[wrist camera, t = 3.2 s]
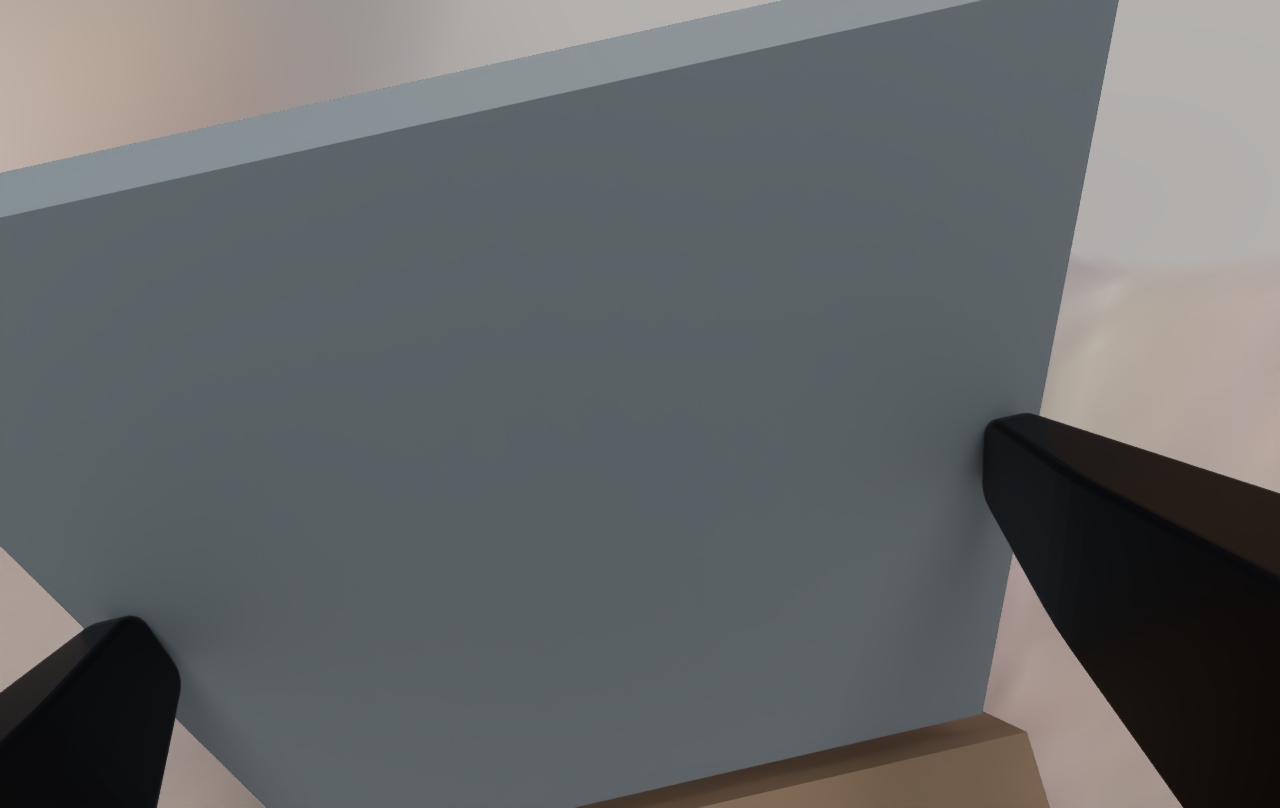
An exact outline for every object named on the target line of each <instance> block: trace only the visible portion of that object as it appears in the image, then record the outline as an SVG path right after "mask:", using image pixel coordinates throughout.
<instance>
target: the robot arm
mask: <svg viewBox="0 0 1280 808" xmlns="http://www.w3.org/2000/svg"><path fill="white" fill-rule="evenodd" d="M982 488H983V494H984V498H985V500H986V503H987V505H988V507H989V509H990V511H991V513H992V515H993V517H994V518H995V520H996V522H997V524H998V526H999V527H1000V529H1001V531H1002V533H1003V535H1004V536H1005V538H1006V540H1007V542H1008V544H1009V545H1010V547H1011V549H1012V551H1013V553H1014V554H1015V556H1016V558H1017V560H1018V562H1019V563H1020V565H1021V567H1022V569H1023V571H1024V572H1025V574H1026V576H1027V578H1028V580H1029V581H1030V583H1031V585H1032V587H1033V589H1034V590H1035V592H1036V594H1037V596H1038V598H1039V599H1040V601H1041V603H1042V605H1043V607H1044V608H1045V610H1046V612H1047V613H1048V615H1049V617H1050V618H1051V620H1052V622H1053V624H1054V625H1055V627H1056V628H1057V630H1058V631H1059V633H1060V634H1061V636H1062V637H1063V639H1064V640H1065V642H1066V643H1067V645H1068V646H1069V648H1070V649H1071V650H1072V652H1073V653H1074V655H1075V656H1076V657H1077V659H1078V660H1079V662H1080V663H1081V664H1082V666H1083V667H1084V669H1085V670H1086V672H1087V673H1088V674H1089V676H1090V677H1091V679H1092V680H1093V681H1094V683H1095V684H1096V686H1097V687H1098V688H1099V690H1100V691H1101V693H1102V694H1103V695H1104V697H1105V698H1106V700H1107V701H1108V702H1109V704H1110V705H1111V707H1112V708H1113V710H1114V711H1115V712H1116V714H1117V715H1118V717H1119V718H1120V719H1121V721H1122V722H1123V724H1124V725H1125V726H1126V728H1127V729H1128V731H1129V732H1130V733H1131V735H1132V736H1133V738H1134V739H1135V740H1136V742H1137V743H1138V745H1139V746H1140V747H1141V749H1142V750H1143V752H1144V753H1145V755H1146V756H1147V757H1148V759H1149V760H1150V762H1151V763H1152V764H1153V766H1154V767H1155V769H1156V770H1157V771H1158V773H1159V774H1160V776H1161V777H1162V778H1163V780H1164V781H1165V783H1166V784H1167V785H1168V787H1169V788H1170V790H1171V791H1172V793H1173V794H1174V795H1175V797H1176V798H1177V800H1178V801H1179V802H1180V804H1181V805H1182V807H1183V808H1280V493H1277V492H1274V491H1271V490H1268V489H1265V488H1261V487H1258V486H1255V485H1252V484H1249V483H1246V482H1243V481H1240V480H1237V479H1234V478H1230V477H1227V476H1224V475H1221V474H1218V473H1215V472H1212V471H1209V470H1206V469H1203V468H1199V467H1196V466H1193V465H1190V464H1187V463H1184V462H1181V461H1178V460H1175V459H1172V458H1168V457H1165V456H1162V455H1159V454H1156V453H1153V452H1150V451H1147V450H1144V449H1141V448H1137V447H1134V446H1131V445H1128V444H1125V443H1122V442H1119V441H1116V440H1113V439H1110V438H1107V437H1103V436H1100V435H1097V434H1094V433H1091V432H1088V431H1085V430H1082V429H1079V428H1076V427H1072V426H1069V425H1066V424H1063V423H1060V422H1057V421H1054V420H1051V419H1048V418H1045V417H1041V416H1038V415H1035V414H1032V413H1020V414H1015V415H1011V416H1006V417H1002V418H998V419H994V420H991V421H990V422H989V423H988V424H987V426H986V428H985V432H984V445H983V471H982ZM180 692H181V678H180V673H179V671H178V668H177V666H176V664H175V663H174V661H173V660H172V658H171V657H170V656H169V654H168V653H167V651H166V650H165V649H164V647H163V646H162V644H161V643H160V641H159V640H158V639H157V637H156V636H155V634H154V633H153V632H152V630H151V629H150V627H149V626H148V624H147V623H146V622H145V621H144V620H142V619H141V618H139V617H137V616H131V615H128V616H123V617H119V618H114V619H110V620H105V621H101V622H97V623H94V624H92V625H90V626H88V627H87V628H85V629H84V630H83V631H81V632H80V633H79V634H77V635H76V636H75V637H73V638H72V639H71V640H69V641H68V642H67V643H65V644H64V645H63V646H61V647H60V648H59V649H58V650H56V651H55V652H54V653H52V654H51V655H50V656H48V657H47V658H46V659H44V660H43V661H42V662H40V663H39V664H38V665H36V666H35V667H34V668H32V669H31V670H30V671H28V672H27V673H26V674H24V675H23V676H22V677H20V678H19V679H18V680H16V681H15V682H14V683H12V684H11V685H10V686H9V687H7V688H6V689H5V690H3V691H2V692H1V693H0V808H157V804H158V799H159V794H160V789H161V785H162V780H163V775H164V770H165V765H166V760H167V756H168V751H169V746H170V741H171V736H172V731H173V727H174V722H175V717H176V712H177V707H178V702H179V698H180Z"/></svg>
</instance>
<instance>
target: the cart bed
mask: <svg viewBox="0 0 1280 808" xmlns="http://www.w3.org/2000/svg"><path fill="white" fill-rule="evenodd" d="M575 808H1050V807H1049V804H1048V801H1047V797H1046V794H1045V791H1044V788H1043V784H1042V781H1041V778H1040V774H1039V771H1038V768H1037V765H1036V761H1035V758H1034V755H1033V751H1032V748H1031V745H1030V742H1029V738H1028V735H1027V732H1025V731H1023V730H1021V729H1019V728H1017V727H1015V726H1013V725H1011V724H1008V723H1006V722H1004V721H1002V720H1000V719H998V718H996V717H994V716H992V715H989V714H987V713H985V712H983V711H982V714H979V715H975V716H970V717H966V718H962V719H957V720H953V721H949V722H944V723H940V724H936V725H931V726H927V727H923V728H918V729H914V730H910V731H905V732H901V733H897V734H892V735H888V736H884V737H879V738H875V739H870V740H866V741H862V742H857V743H853V744H849V745H844V746H840V747H836V748H831V749H827V750H823V751H818V752H814V753H810V754H805V755H801V756H797V757H792V758H788V759H784V760H779V761H775V762H771V763H766V764H762V765H757V766H753V767H749V768H744V769H740V770H736V771H731V772H727V773H723V774H718V775H714V776H710V777H705V778H701V779H697V780H692V781H688V782H684V783H679V784H675V785H671V786H666V787H662V788H658V789H653V790H649V791H644V792H640V793H636V794H631V795H627V796H623V797H618V798H614V799H610V800H605V801H601V802H597V803H592V804H588V805H584V806H579V807H575Z"/></svg>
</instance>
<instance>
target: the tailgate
mask: <svg viewBox="0 0 1280 808" xmlns="http://www.w3.org/2000/svg"><path fill="white" fill-rule="evenodd" d="M1118 1H1119V0H782V1H777V2H773V3H768V4H764V5H759V6H754V7H750V8H746V9H741V10H736V11H732V12H727V13H723V14H719V15H714V16H709V17H705V18H701V19H696V20H691V21H687V22H682V23H677V24H673V25H668V26H664V27H659V28H655V29H650V30H646V31H642V32H637V33H632V34H628V35H623V36H619V37H614V38H610V39H605V40H601V41H596V42H591V43H587V44H583V45H578V46H573V47H569V48H565V49H560V50H555V51H551V52H546V53H542V54H537V55H533V56H528V57H524V58H519V59H514V60H510V61H506V62H501V63H497V64H492V65H487V66H483V67H478V68H474V69H469V70H465V71H460V72H456V73H452V74H447V75H442V76H437V77H433V78H428V79H424V80H419V81H415V82H411V83H406V84H402V85H397V86H392V87H388V88H383V89H379V90H374V91H370V92H365V93H360V94H356V95H351V96H347V97H342V98H338V99H333V100H329V101H325V102H320V103H315V104H311V105H306V106H302V107H297V108H292V109H288V110H283V111H279V112H274V113H270V114H265V115H261V116H257V117H252V118H247V119H243V120H238V121H234V122H229V123H225V124H220V125H215V126H211V127H207V128H202V129H197V130H193V131H189V132H184V133H179V134H175V135H170V136H166V137H161V138H157V139H152V140H148V141H143V142H139V143H134V144H129V145H125V146H121V147H116V148H111V149H107V150H102V151H98V152H93V153H89V154H84V155H80V156H75V157H71V158H66V159H62V160H57V161H52V162H48V163H43V164H39V165H35V166H30V167H25V168H21V169H16V170H12V171H7V172H3V173H0V546H1V547H2V548H3V549H4V550H5V551H6V552H7V553H8V554H9V555H10V556H11V557H12V558H13V559H14V560H15V561H16V562H17V563H18V564H19V565H20V566H21V567H22V568H23V569H24V570H25V571H26V572H27V573H28V574H29V575H30V576H31V577H33V578H34V579H35V580H36V581H37V582H38V583H39V584H40V585H41V586H42V587H43V588H44V589H45V590H46V591H47V592H48V593H49V594H50V595H51V596H52V597H53V598H54V599H55V600H56V601H57V602H58V603H59V604H60V605H61V606H62V607H63V608H64V609H65V610H66V611H67V612H68V613H69V614H70V615H71V616H72V617H73V618H74V619H75V620H76V621H77V622H78V623H79V624H80V625H81V626H82V627H83V628H84V629H85V628H87V627H88V626H90V625H92V624H94V623H97V622H101V621H105V620H110V619H114V618H119V617H123V616H128V615H131V616H137V617H139V618H141V619H142V620H144V621H145V622H146V623H147V624H148V626H149V627H150V629H151V630H152V632H153V633H154V634H155V636H156V637H157V639H158V640H159V641H160V643H161V644H162V646H163V647H164V649H165V650H166V651H167V653H168V654H169V656H170V657H171V658H172V660H173V661H174V663H175V664H176V666H177V668H178V671H179V673H180V678H181V692H180V698H179V702H178V707H177V712H176V717H175V718H176V719H177V720H178V721H179V722H180V723H181V724H182V725H183V726H184V727H185V728H186V729H187V730H188V731H189V732H190V733H191V734H192V735H193V736H194V737H195V738H196V739H197V740H198V741H199V742H200V743H201V744H202V745H203V746H204V747H205V748H206V749H207V750H208V751H210V752H211V753H212V754H213V755H214V756H215V757H216V758H217V759H218V760H219V761H220V762H221V763H222V764H223V765H224V766H225V767H226V768H227V769H228V770H229V771H230V772H231V773H232V774H233V775H234V776H235V777H236V778H237V779H238V780H239V781H240V782H241V783H242V784H243V785H244V786H245V787H246V788H247V789H248V790H249V791H250V792H251V793H252V794H253V795H254V796H255V797H256V798H257V799H258V800H259V801H260V802H261V803H262V804H263V805H264V806H265V807H266V808H575V807H579V806H584V805H588V804H592V803H597V802H601V801H605V800H610V799H614V798H618V797H623V796H627V795H631V794H636V793H640V792H644V791H649V790H653V789H658V788H662V787H666V786H671V785H675V784H679V783H684V782H688V781H692V780H697V779H701V778H705V777H710V776H714V775H718V774H723V773H727V772H731V771H736V770H740V769H744V768H749V767H753V766H757V765H762V764H766V763H771V762H775V761H779V760H784V759H788V758H792V757H797V756H801V755H805V754H810V753H814V752H818V751H823V750H827V749H831V748H836V747H840V746H844V745H849V744H853V743H857V742H862V741H866V740H870V739H875V738H879V737H884V736H888V735H892V734H897V733H901V732H905V731H910V730H914V729H918V728H923V727H927V726H931V725H936V724H940V723H944V722H949V721H953V720H957V719H962V718H966V717H970V716H975V715H979V714H982V711H983V705H984V700H985V695H986V690H987V685H988V679H989V674H990V669H991V664H992V658H993V653H994V648H995V643H996V638H997V632H998V627H999V622H1000V617H1001V612H1002V606H1003V601H1004V596H1005V591H1006V585H1007V580H1008V575H1009V570H1010V565H1011V559H1012V554H1013V551H1012V549H1011V547H1010V545H1009V544H1008V542H1007V540H1006V538H1005V536H1004V535H1003V533H1002V531H1001V529H1000V527H999V526H998V524H997V522H996V520H995V518H994V517H993V515H992V513H991V511H990V509H989V507H988V505H987V503H986V500H985V498H984V494H983V488H982V471H983V445H984V432H985V428H986V426H987V424H988V423H989V422H990V421H991V420H994V419H998V418H1002V417H1006V416H1011V415H1015V414H1020V413H1032V414H1035V415H1038V416H1039V413H1040V408H1041V403H1042V398H1043V392H1044V387H1045V382H1046V377H1047V371H1048V366H1049V361H1050V356H1051V351H1052V345H1053V340H1054V335H1055V330H1056V325H1057V319H1058V314H1059V309H1060V304H1061V298H1062V293H1063V288H1064V283H1065V278H1066V272H1067V267H1068V262H1069V257H1070V251H1071V246H1072V241H1073V236H1074V231H1075V225H1076V220H1077V215H1078V210H1079V205H1080V199H1081V193H1082V188H1083V183H1084V178H1085V173H1086V168H1087V163H1088V157H1089V152H1090V147H1091V142H1092V137H1093V131H1094V126H1095V121H1096V115H1097V111H1098V104H1099V100H1100V95H1101V90H1102V85H1103V79H1104V74H1105V69H1106V64H1107V58H1108V52H1109V48H1110V42H1111V37H1112V32H1113V27H1114V22H1115V16H1116V11H1117V6H1118Z"/></svg>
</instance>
